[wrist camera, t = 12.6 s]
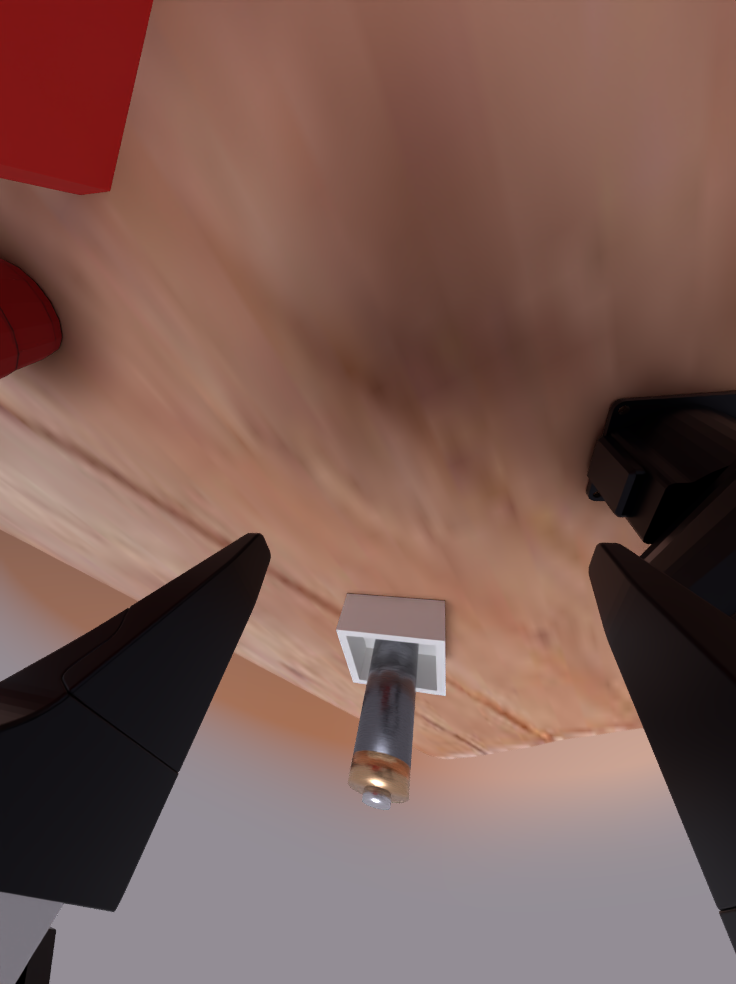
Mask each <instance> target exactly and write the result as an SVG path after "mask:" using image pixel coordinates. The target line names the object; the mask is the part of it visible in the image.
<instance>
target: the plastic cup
mask: <svg viewBox="0 0 736 984" xmlns="http://www.w3.org/2000/svg"><path fill="white" fill-rule="evenodd" d="M61 339H62V334H61V328H60V323H59V319H58V317H57V315H56V313H55V311H54V309H53V307H52V305H51V303H50V301H49V300H48V298H47V297H46V296H45V294H44V293H43V292H42V291H41V289H40V288H39V287H38V285H37V284H36V283H35V282H34V281H33V280H32V279H31V278H30V277H29V276H27V275H26V274H25V273H24V272H23V271H22V270H21V269H19V268H18V267H17V266H15V265H13V264H11V263H9V262H7V261H5V260H3V259H1V258H0V379H1V378H3V377H5V376H7V375H9V374H10V373H12V372H13V371H15V370H17V369H20V368H22V367H25V366H27V365H30V364H32V363H35V362H37V361H39V360H42V359H44V358H45V357H47V356H49V355H50V354H52V353H53V352H54V351H56V350H58V349H59V346H60V343H61Z"/></svg>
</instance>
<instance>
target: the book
mask: <svg viewBox="0 0 736 984" xmlns="http://www.w3.org/2000/svg"><path fill="white" fill-rule="evenodd" d="M152 3H153V0H0V178H3V179H8V180H13V181H17V182H22V183H27V184H31V185H36V186H41V187H45V188H50V189H55V190H59V191H64V192H68V193H73V194H78V195H84V194H92V193H100V192H107V191H110V189H111V185H112V180H113V176H114V171H115V167H116V163H117V158H118V154H119V149H120V145H121V140H122V136H123V132H124V127H125V123H126V118H127V114H128V110H129V105H130V101H131V96H132V92H133V87H134V83H135V79H136V74H137V70H138V65H139V61H140V57H141V52H142V48H143V43H144V39H145V34H146V30H147V26H148V21H149V17H150V12H151V8H152Z"/></svg>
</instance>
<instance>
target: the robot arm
mask: <svg viewBox="0 0 736 984" xmlns="http://www.w3.org/2000/svg"><path fill="white" fill-rule="evenodd" d="M625 405H626V408H625V410H623V411H622V412H618V410H619V409H620V408H621V407H622V406H625ZM587 476H588V477H589V479H590V480H589V483H588V487H587V490H586V494H587V495H588V497H589V499H591V500H592V501H605V502H606V503H607V504H608V506H609V507H610V509H611V510H612V511H613V513H614V514H615V515H616V516H617V517H625V518H626V519H627V520H628V522H629V523H630V525H631V526H632V527H633V529H634V530H635V531H636V533H637V534H638V535H639V537H640V538H641V539H642V541H643V542H644V543H646V544H652V545H651V546H650V547H649V548H648V549H647V550H646V551H645V552H644V553H643V554H642V555H641V556H640V557H639V556H638V555H636V554H635V553H633V552H632V551H630V550H629V549H627V548H626V547H624V546H623V545H621V544H618V543H599V544H598V545H597V546H596V548H595V551H594V554H593V556H592V559H591V562H590V565H589V577H590V581H591V584H592V588H593V592H594V595H595V599H596V602H597V606H598V610H599V613H600V617H601V620H602V624H603V627H604V631H605V634H606V637H607V640H608V642H609V645H610V647H611V650H612V652H613V655H614V657H615V660H616V662H617V665H618V667H619V669H620V672H621V674H622V677H623V679H624V682H625V684H626V686H627V689H628V691H629V694H630V696H631V699H632V701H633V704H634V706H635V708H636V711H637V713H638V716H639V718H640V721H641V723H642V725H643V728H644V730H645V733H646V735H647V738H648V740H649V742H650V745H651V747H652V750H653V752H654V755H655V757H656V760H657V762H658V764H659V767H660V769H661V772H662V774H663V777H664V779H665V781H666V784H667V786H668V789H669V791H670V794H671V796H672V799H673V801H674V803H675V806H676V808H677V811H678V813H679V816H680V818H681V820H682V823H683V825H684V828H685V830H686V833H687V835H688V837H689V840H690V842H691V845H692V847H693V850H694V852H695V854H696V857H697V859H698V862H699V864H700V867H701V869H702V872H703V874H704V876H705V879H706V881H707V884H708V886H709V889H710V891H711V893H712V896H713V898H714V901H715V903H716V906H717V907H718V909H719V910H721V911H719V914H720V916H721V919H722V921H723V923H724V926H725V928H726V931H727V933H728V936H729V938H730V941H731V943H732V945H733V948H734V950H735V953H736V391H729V392H714V393H699V394H684V395H669V396H654V397H639V398H624V399H619V400H617V401H615V402H614V403H613V404H612V405H611V407H610V410H609V414H608V417H607V421H606V424H605V428H604V431H603V435H602V436H601V437H600V438H599V439H598V440H597V442H596V445H595V449H594V453H593V456H592V460H591V463H590V467H589V470H588V474H587ZM597 491H598V492H599V493H597V494H594V493H595V492H597ZM270 558H271V554H270V550H269V548H268V546H267V543H266V541H265V539H264V536H263V535H262V534H260V533H248V534H246V535H244V536H243V537H241V538H239V539H238V540H236V541H235V542H233V543H231V544H230V545H228V546H227V547H225V548H223V549H222V550H220V551H219V552H217V553H215V554H214V555H212V556H210V557H209V558H207V559H206V560H204V561H202V562H201V563H199V564H198V565H196V566H194V567H193V568H191V569H190V570H188V571H186V572H185V573H183V574H182V575H180V576H178V577H177V578H175V579H174V580H172V581H170V582H169V583H167V584H166V585H164V586H162V587H161V588H159V589H158V590H156V591H154V592H153V593H151V594H150V595H148V596H146V597H145V598H143V599H142V600H140V601H138V602H137V603H135V604H134V605H132V606H131V607H130V608H127V609H126V610H124V611H123V612H121V613H119V614H118V615H116V616H114V617H113V618H111V619H109V620H108V621H106V622H104V623H103V624H101V625H99V626H98V627H96V628H95V629H93V630H91V631H90V632H88V633H86V634H85V635H83V636H81V637H79V638H77V639H76V640H74V641H72V642H70V643H69V644H67V645H65V646H63V647H62V648H60V649H58V650H56V651H55V652H53V653H51V654H49V655H47V656H46V657H44V658H42V659H40V660H38V661H37V662H35V663H33V664H31V665H30V666H28V667H26V668H24V669H23V670H21V671H19V672H17V673H15V674H13V675H12V676H10V677H8V678H6V679H5V680H3V681H1V682H0V984H49V980H50V972H51V964H52V957H53V949H54V942H55V934H56V930H55V929H54V928H52V927H50V926H51V924H52V922H53V921H54V919H55V918H56V916H57V914H58V912H59V911H60V909H61V908H62V906H63V904H64V903H66V904H72V905H77V906H83V907H88V908H94V909H99V910H106V911H111V912H114V911H115V910H116V908H117V907H118V905H119V903H120V901H121V899H122V897H123V895H124V893H125V891H126V888H127V886H128V884H129V882H130V879H131V877H132V875H133V873H134V871H135V869H136V866H137V864H138V862H139V860H140V857H141V855H142V853H143V851H144V849H145V846H146V844H147V842H148V840H149V838H150V835H151V833H152V831H153V829H154V827H155V824H156V822H157V820H158V817H159V816H160V813H161V811H162V809H163V807H164V804H165V802H166V800H167V798H168V796H169V794H170V791H171V789H172V787H173V785H174V783H175V780H176V778H177V776H178V772H179V771H180V769H181V767H182V765H183V762H184V760H185V758H186V756H187V754H188V751H189V749H190V747H191V745H192V743H193V740H194V738H195V736H196V734H197V731H198V729H199V727H200V725H201V723H202V721H203V718H204V716H205V714H206V712H207V709H208V707H209V705H210V703H211V701H212V698H213V696H214V694H215V692H216V690H217V687H218V685H219V683H220V681H221V679H222V676H223V674H224V672H225V670H226V668H227V665H228V663H229V661H230V659H231V657H232V654H233V652H234V650H235V648H236V646H237V643H238V641H239V639H240V637H241V635H242V632H243V630H244V628H245V626H246V624H247V621H248V619H249V617H250V615H251V613H252V610H253V608H254V606H255V603H256V600H257V598H258V595H259V592H260V589H261V586H262V583H263V580H264V577H265V574H266V571H267V568H268V565H269V562H270Z"/></svg>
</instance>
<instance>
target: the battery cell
mask: <svg viewBox="0 0 736 984" xmlns="http://www.w3.org/2000/svg"><path fill="white" fill-rule="evenodd" d="M418 651H419V644H418V643H408V642H399V641H390V640H381V639H375V642H374V648H373V653H372V658H371V664H370V669H369V674H368V679H367V685H366V690H365V695H364V700H363V706H362V711H361V716H360V721H359V727H358V732H357V738H356V743H355V748H354V753H353V758H352V764H351V769H350V774H349V779H348V785H349V786H350V787H351V788H352V789H353V790H355V791H357V792H359V793H360V794H363V797H362V802H363V803H365V804H366V805H368V806H371V807H374V808H377V809H382V810H389V809H390V805H391V802H392V803H403V802H406V801H408V798H409V782H410V769H411V754H412V740H413V725H414V710H415V695H416V680H417V665H418Z"/></svg>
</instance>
